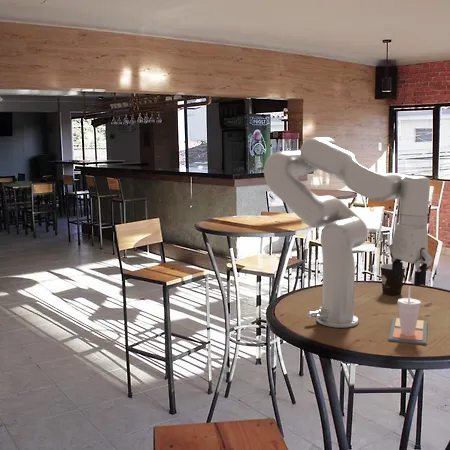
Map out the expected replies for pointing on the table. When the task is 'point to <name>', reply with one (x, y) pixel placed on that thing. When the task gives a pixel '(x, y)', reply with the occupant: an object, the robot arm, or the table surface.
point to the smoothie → (408, 314)
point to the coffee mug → (391, 281)
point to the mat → (416, 339)
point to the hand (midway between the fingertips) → (407, 280)
